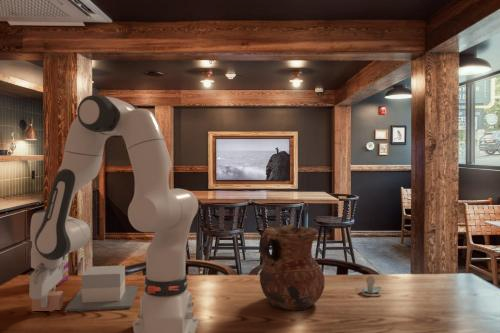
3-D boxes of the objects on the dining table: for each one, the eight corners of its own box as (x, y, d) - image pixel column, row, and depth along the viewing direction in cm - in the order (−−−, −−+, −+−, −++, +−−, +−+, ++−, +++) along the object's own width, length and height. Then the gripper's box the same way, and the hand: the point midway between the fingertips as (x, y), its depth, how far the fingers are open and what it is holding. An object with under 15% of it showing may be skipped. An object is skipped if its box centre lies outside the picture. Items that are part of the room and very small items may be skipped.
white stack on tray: (130, 308, 130) (130, 277, 130) (64, 312, 127) (64, 280, 127) (138, 288, 150) (138, 261, 149) (81, 290, 147) (81, 263, 147)
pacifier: (383, 298, 140) (379, 291, 146) (384, 280, 140) (379, 274, 146) (362, 297, 141) (358, 291, 147) (362, 279, 140) (358, 274, 146)
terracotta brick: (59, 310, 128) (58, 295, 128) (32, 312, 127) (31, 296, 126) (63, 306, 132) (62, 290, 131) (36, 307, 130) (36, 292, 130)
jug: (278, 288, 149) (278, 220, 149) (333, 298, 139) (334, 225, 138) (247, 308, 130) (247, 230, 130) (308, 322, 120) (308, 237, 119)
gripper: (45, 268, 119) (46, 315, 119) (66, 251, 139) (67, 292, 139) (22, 269, 118) (23, 316, 118) (47, 252, 138) (48, 293, 139)
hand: (47, 303), depth 129 cm, fingers closed on terracotta brick, 4 cm apart
